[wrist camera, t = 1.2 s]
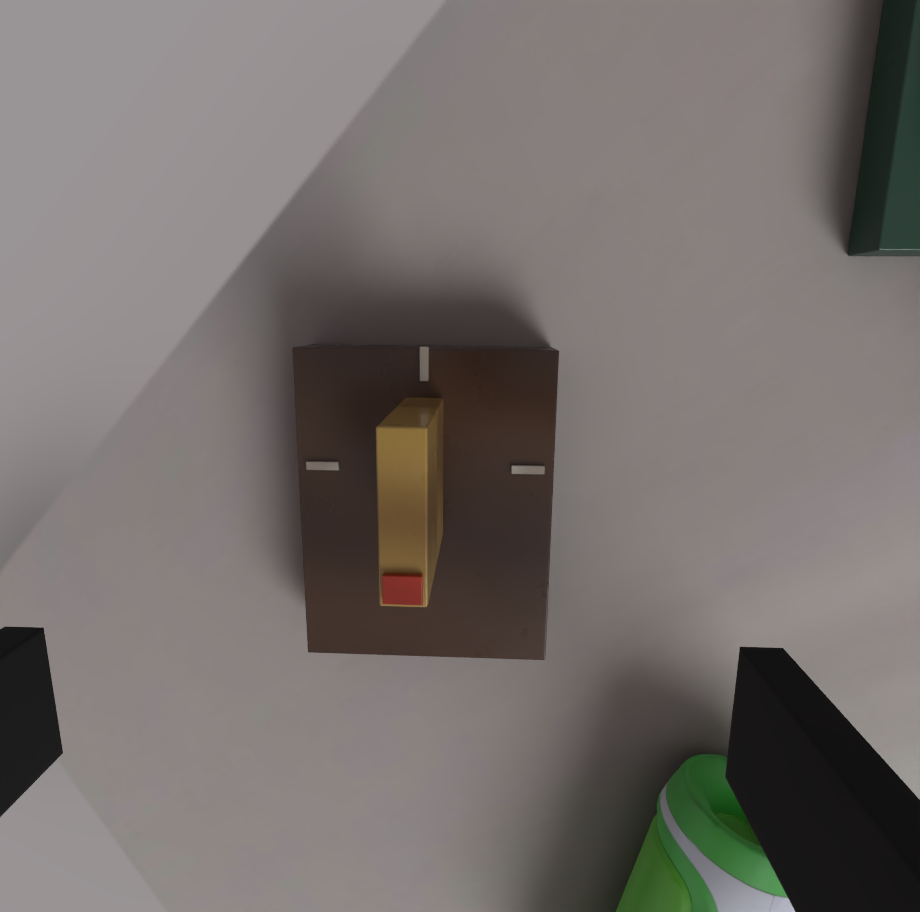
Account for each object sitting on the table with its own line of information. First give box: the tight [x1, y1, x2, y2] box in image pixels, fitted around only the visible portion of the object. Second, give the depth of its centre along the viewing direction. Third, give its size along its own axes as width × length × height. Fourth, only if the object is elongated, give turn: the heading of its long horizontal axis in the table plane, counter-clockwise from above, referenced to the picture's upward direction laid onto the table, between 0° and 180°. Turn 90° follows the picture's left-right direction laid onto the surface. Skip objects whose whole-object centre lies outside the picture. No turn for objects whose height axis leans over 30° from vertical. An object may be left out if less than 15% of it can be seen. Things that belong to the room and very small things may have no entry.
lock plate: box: [293, 344, 559, 660], centre depth 28 cm, size 14×11×3 cm
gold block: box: [376, 398, 443, 607], centre depth 23 cm, size 6×2×7 cm, turn 179°
